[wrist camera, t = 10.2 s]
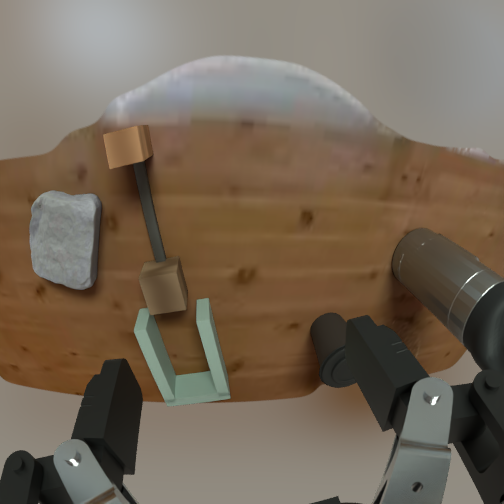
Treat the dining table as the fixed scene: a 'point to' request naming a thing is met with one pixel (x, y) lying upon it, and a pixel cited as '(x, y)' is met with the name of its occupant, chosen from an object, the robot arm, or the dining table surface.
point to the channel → (188, 385)
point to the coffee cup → (331, 350)
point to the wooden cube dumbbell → (149, 223)
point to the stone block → (66, 238)
